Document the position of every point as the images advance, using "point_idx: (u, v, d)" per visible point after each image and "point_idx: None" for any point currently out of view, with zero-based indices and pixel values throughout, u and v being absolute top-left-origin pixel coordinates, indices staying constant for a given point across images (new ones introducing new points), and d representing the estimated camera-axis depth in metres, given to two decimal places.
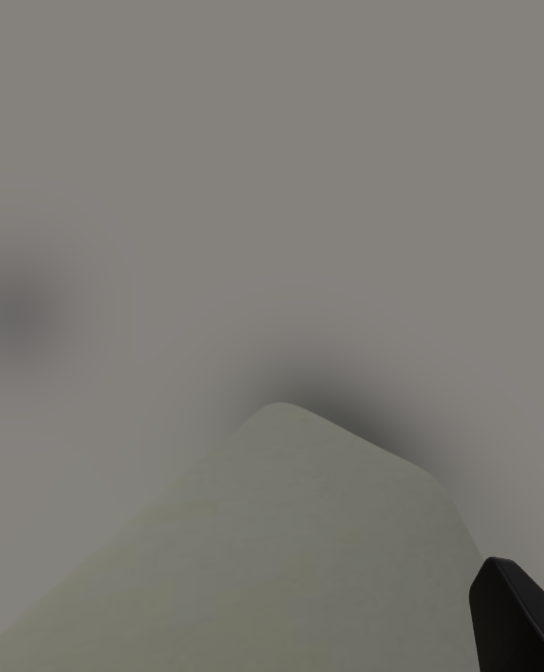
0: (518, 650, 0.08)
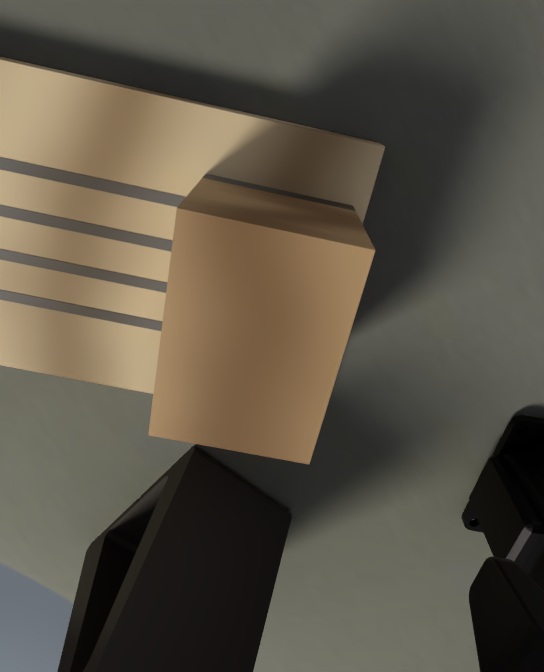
0: (518, 650, 0.08)
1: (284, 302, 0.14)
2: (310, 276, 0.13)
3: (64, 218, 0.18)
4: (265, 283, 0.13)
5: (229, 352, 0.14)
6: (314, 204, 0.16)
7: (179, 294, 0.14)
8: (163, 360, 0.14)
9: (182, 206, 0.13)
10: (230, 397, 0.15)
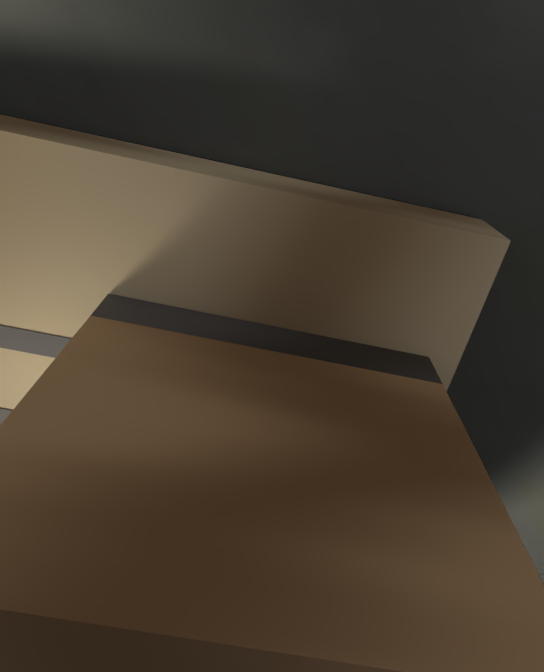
0: None
1: None
2: None
3: None
4: None
5: None
6: (351, 379, 0.07)
7: None
8: None
9: None
10: None
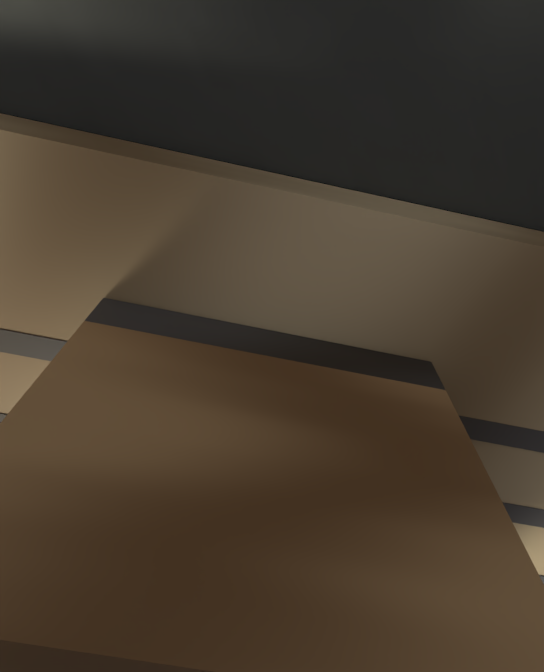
0: None
1: None
2: None
3: None
4: None
5: None
6: (352, 385, 0.07)
7: None
8: None
9: None
10: None
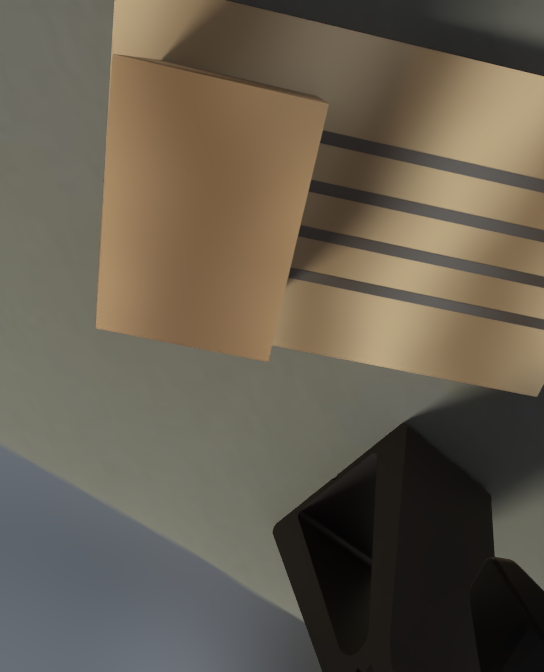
0: (518, 650, 0.08)
1: (233, 168, 0.13)
2: (260, 136, 0.12)
3: (339, 186, 0.18)
4: (212, 146, 0.12)
5: (177, 228, 0.13)
6: (274, 87, 0.15)
7: (120, 159, 0.13)
8: (107, 238, 0.14)
9: (120, 55, 0.12)
10: (181, 283, 0.14)
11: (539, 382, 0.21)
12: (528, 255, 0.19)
